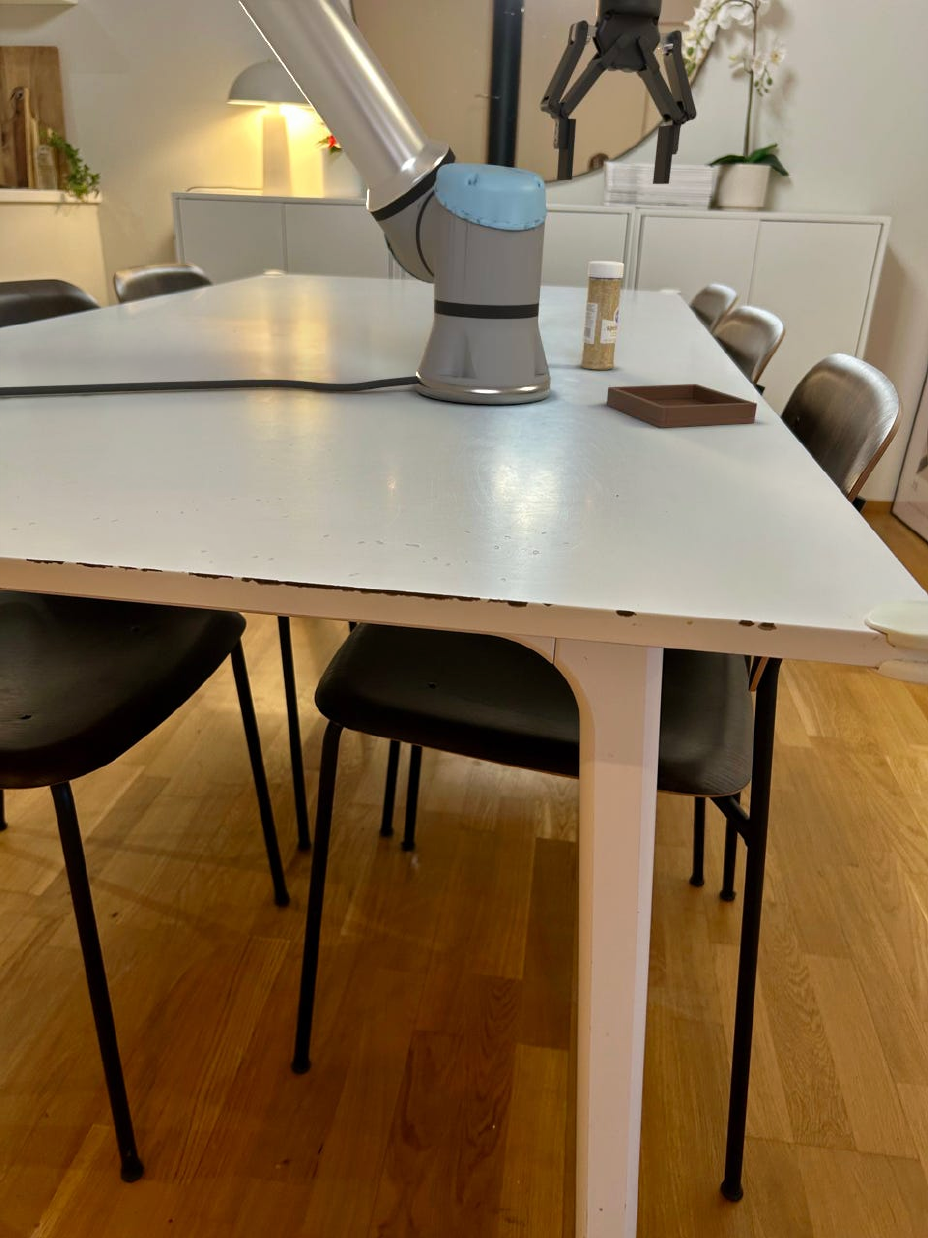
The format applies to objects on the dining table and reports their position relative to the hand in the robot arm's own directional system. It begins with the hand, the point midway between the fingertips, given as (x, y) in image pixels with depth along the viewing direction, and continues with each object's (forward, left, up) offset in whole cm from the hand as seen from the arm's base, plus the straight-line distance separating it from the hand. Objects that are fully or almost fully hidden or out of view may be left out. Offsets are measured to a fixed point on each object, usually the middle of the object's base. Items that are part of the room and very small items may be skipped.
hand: (613, 182), depth 113 cm
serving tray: (-5, -29, -23) cm, 37 cm away
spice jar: (0, 0, -23) cm, 23 cm away
